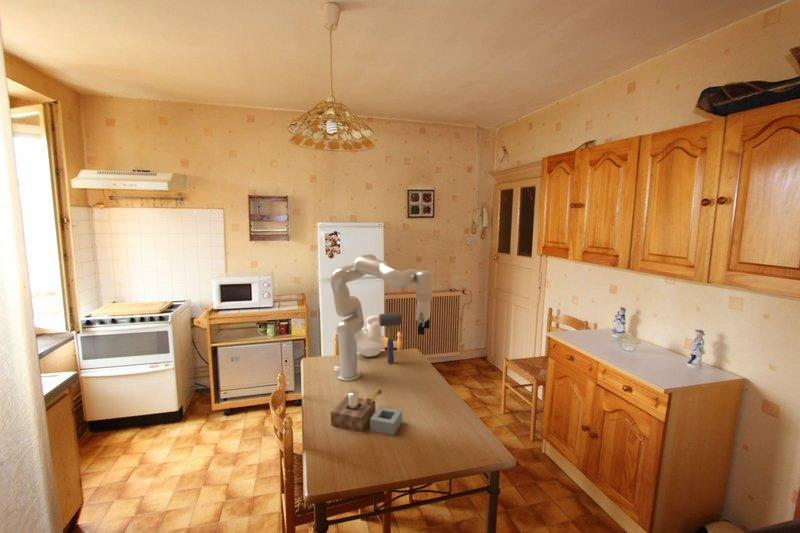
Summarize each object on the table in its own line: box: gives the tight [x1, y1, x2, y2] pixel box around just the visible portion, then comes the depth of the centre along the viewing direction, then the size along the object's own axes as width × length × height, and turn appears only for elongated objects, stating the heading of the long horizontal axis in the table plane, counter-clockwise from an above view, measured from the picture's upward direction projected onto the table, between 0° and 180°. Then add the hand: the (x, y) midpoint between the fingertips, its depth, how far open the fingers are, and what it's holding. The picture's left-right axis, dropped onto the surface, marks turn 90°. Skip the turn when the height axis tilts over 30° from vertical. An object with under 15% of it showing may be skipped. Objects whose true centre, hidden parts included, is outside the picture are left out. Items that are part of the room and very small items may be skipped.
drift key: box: [366, 386, 383, 404], centre depth 160 cm, size 4×10×2 cm, turn 160°
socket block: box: [330, 395, 377, 432], centre depth 155 cm, size 14×14×6 cm
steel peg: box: [347, 390, 359, 411], centre depth 154 cm, size 4×4×12 cm
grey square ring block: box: [369, 406, 403, 436], centre depth 150 cm, size 10×10×5 cm
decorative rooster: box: [354, 314, 384, 358], centre depth 225 cm, size 25×16×25 cm, turn 109°
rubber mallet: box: [378, 312, 402, 364], centre depth 212 cm, size 12×8×30 cm, turn 101°
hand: (423, 331), depth 176 cm, fingers open, 9 cm apart
